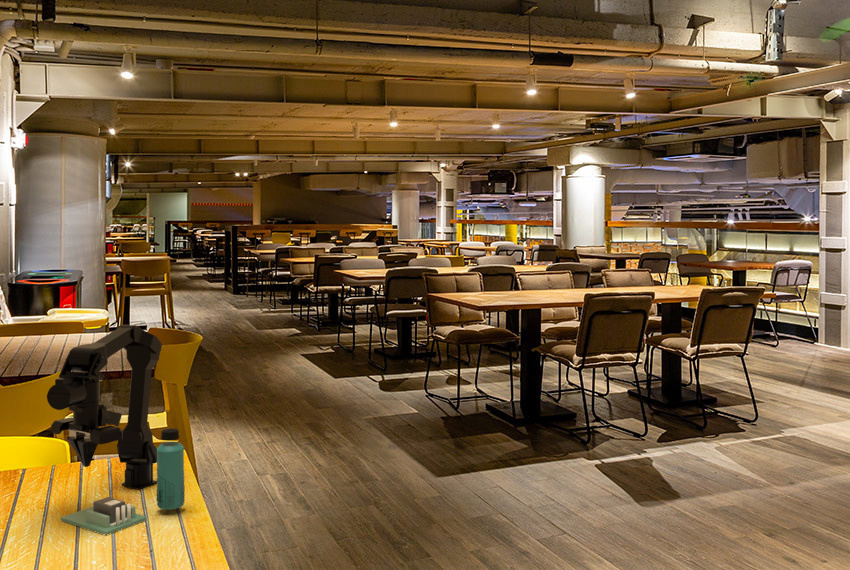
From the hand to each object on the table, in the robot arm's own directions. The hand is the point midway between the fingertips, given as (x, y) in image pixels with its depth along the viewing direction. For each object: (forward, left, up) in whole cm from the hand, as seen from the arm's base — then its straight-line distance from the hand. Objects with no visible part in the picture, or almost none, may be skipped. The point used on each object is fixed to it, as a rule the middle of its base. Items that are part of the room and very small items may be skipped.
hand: (86, 466), depth 180 cm
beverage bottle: (-13, +14, -12) cm, 22 cm away
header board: (0, +6, -12) cm, 13 cm away
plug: (0, +8, -11) cm, 14 cm away
